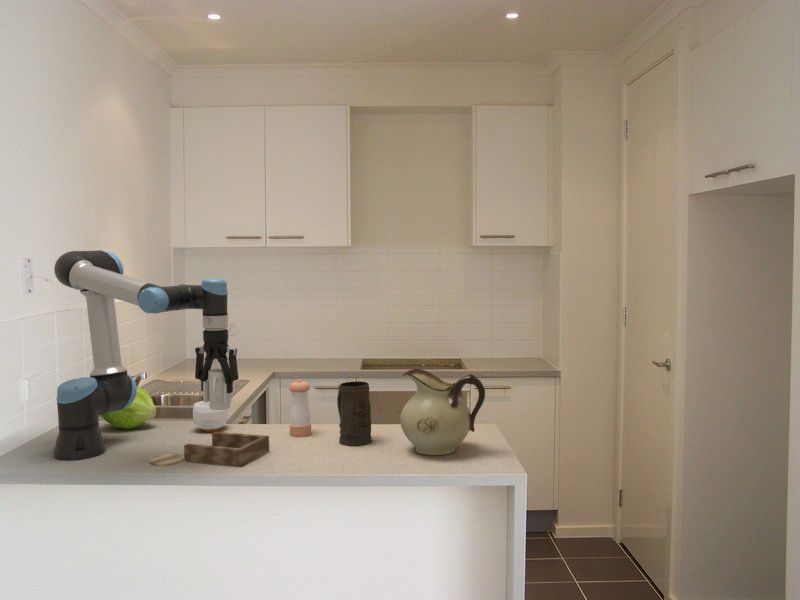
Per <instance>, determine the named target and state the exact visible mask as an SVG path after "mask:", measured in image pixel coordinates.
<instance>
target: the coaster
mask: <svg viewBox="0 0 800 600" xmlns="http://www.w3.org/2000/svg"><path fill="white" fill-rule="evenodd" d="M184 460H185V458H184V454H179V453H167V454H166V453H164V454H159V455H156V456H152V457H151V458H149V460H148V464H149V465H152V466H170V464H171V465H175V463H176V464H178V462H179V463H181V462H182V461H184Z"/></svg>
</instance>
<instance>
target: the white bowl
mask: <svg viewBox="0 0 800 600" xmlns="http://www.w3.org/2000/svg"><path fill="white" fill-rule="evenodd" d="M228 418H229V409H225V410H212V409H210V406H209V402H206V403H204V401H203V400H201V401H198V402H195V403H194V404H193V407H192V419H193V421H194V424H195V425H196V426H197V428H198V429H200V430H202V431H203V432H205V431H206V432H209V433H210V432H211V433H213V432H218V431H219V430H220V429H221V428H223V427H224V426H225V425H226V423H227V422H228ZM212 431H213V432H212Z"/></svg>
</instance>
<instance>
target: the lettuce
mask: <svg viewBox="0 0 800 600" xmlns="http://www.w3.org/2000/svg"><path fill="white" fill-rule="evenodd" d="M156 415H157V407H156V405H155V404H154V401H153V398H152V397H151V395H149V393H148V392H147V391H146V389H144V388H142V387H137V393H136V397H135V399H134V401H133V402H132V404H131V405H129V406H128V407H126V408H123V409H121V410H119V411H113V412H110V413H106V414H103V415H101V416H102V418H103V421H105V422H107V423H108V424H109V425H112V426H113V427H115V428H121V429H127V430H128V429H129V430H131V429H133V428H136V427H139V426H141V425H142V424H144V423H145V422H146V421H149V420H151V419H153V418H154V417H155V416H156Z"/></svg>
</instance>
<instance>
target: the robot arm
mask: <svg viewBox="0 0 800 600" xmlns="http://www.w3.org/2000/svg"><path fill="white" fill-rule="evenodd" d="M53 270H54V275H55V278H56V279H57V280H58V282H59V283H60V284H62V285H63V286H66V287H68V288H72V289H74V290H78V291H79V293H80V294H81V295H83V296H84V297H85V300H86V310H87V319H88V326H89V328H88V329H89V334H90V343H91V344H90V345H91V353H92V354H91V355H92V363H93V370H92V371H91V372H90V373H89V376H88V377H87V376H85V377H84V376H83V377H79V378H72V379H69V380H66V381H64V382H62V383H60V385H58V387H57V389H56V391H57V392H56V404H57V417H58V418H57V419H58V421H57V422H58V424H57V425H58V433H57V437H56V441H55V446H54V447H53V457H54V458H55V459H58V460H64V461H69V460H70V461H72V460H73V461H74V460H82V459H89V458H93V457H97V456H100V455H102V454H104V453H105V452H106V451H107V447H106V445H107V444H106V441H105V440H104V439H103V434H102V432H101V429H100V423H99V421H100V420H99V416H102V415H103V414H106V413H110V412H113V411H119V410H121V409H123V408H126V407H128V406H129V405H131V404H132V402H133V401H134V399H135V397H136V393H137V383H136V381H135V379H134V377H133V376H131V375H130V374H128V368H126V367H125V366H123V365H122V355H121V348H120V339H119V330H118V329H119V328H118V323H117V314H116V313H117V312H116V311H117V310H116V304H115V299H116V300H119V301H121V302H126V303H129V304H132V305H134V306H137V307H139V308H140V309H141V310H142V311H143V312H144V313H145V314H146V313H147V314H160V313H165V312H168V313H169V312H173V311H182V310H201V311H202V328H203V331H202V337H203V338H202V340H203V342H204V343H203V345H202V346H199V347H198V346H197V347H195V349H194V351H195V355H196V358H195V372H194V378H195V380H198V381H200V389H201V392H203V393H202V395H203V396H202V397H203V399H202V401H204V403H206V402H209V379H208V370H210V369H212V365H213V362H214V361H215V360H217V361H218V363H219V364H220V368H222V371H223V374H224V377H225V381H226V382H225V383H224V404H228V403H230V404H231V403H232V398H231V397H232V394H231V393H233V390H234V389H233V388H234V386H233V385H234V382H236V381H238V380H239V371H238V362H237V353H238V349H237V348H232V347H230V346H229V343H228V342H229V329H227V328H228V327H229V315H228V294H229V293H228V284H227V280H226V279H224V278H207V279H206V278H204V279H202V280H201V285H200V284H199V285H198V284H184V283H182V284H174V285H170V286H160V285H157V284H154V283H153V284H152V283H151V282H147V281H144V280H141V279H137V278H135V277H131V276H128V275H125V274H124V266H123V263H122V260H121V259H120V258H119V256H117V255H116V254H115V253H114V252H111V251H107V250H100V249H99V250H72V251H71V250H70V251H67V252H65V253H63V254H61V256H59V257H58V258H57V260H56V261H55V263H54V269H53ZM227 355H228V356H227Z"/></svg>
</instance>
